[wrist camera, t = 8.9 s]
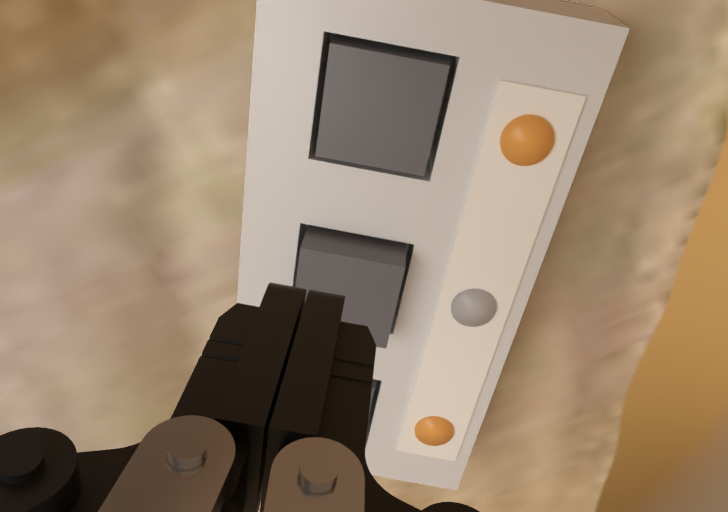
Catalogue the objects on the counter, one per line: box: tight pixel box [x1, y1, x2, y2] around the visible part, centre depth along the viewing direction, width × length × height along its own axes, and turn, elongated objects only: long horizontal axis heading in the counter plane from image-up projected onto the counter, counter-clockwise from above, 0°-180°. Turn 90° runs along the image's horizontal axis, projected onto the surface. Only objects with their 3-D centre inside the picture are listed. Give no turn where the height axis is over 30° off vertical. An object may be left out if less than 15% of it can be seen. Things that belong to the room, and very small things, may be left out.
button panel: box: [237, 0, 630, 490], centre depth 29 cm, size 25×13×4 cm, turn 171°
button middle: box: [295, 225, 407, 349], centre depth 28 cm, size 4×4×3 cm
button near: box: [315, 34, 450, 176], centre depth 24 cm, size 4×4×3 cm
